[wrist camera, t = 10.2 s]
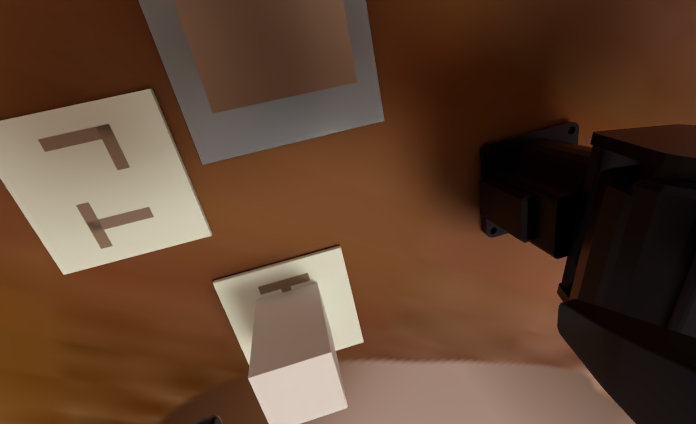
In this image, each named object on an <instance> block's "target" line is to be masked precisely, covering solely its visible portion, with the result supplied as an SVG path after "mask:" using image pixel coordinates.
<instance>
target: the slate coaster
mask: <svg viewBox="0 0 696 424" xmlns="http://www.w3.org/2000/svg"><path fill="white" fill-rule="evenodd" d="M138 1H139V3H140V6H141V8H142V11H143V14H144V16H145V19H146V21H147V24H148V26H149V29H150V31H151V34H152V37H153V39H154V42H155V44H156V47H157V49H158V52H159V54H160V57H161V60H162V62H163V65H164V67H165V70H166V72H167V75H168V78H169V80H170V83H171V85H172V88H173V90H174V93H175V95H176V98H177V101H178V103H179V106H180V108H181V111H182V113H183V116H184V118H185V121H186V124H187V126H188V129H189V131H190V134H191V136H192V139H193V141H194V144H195V147H196V149H197V152H198V154H199V157H200V159H201V162H202V165H204V164H208V163H212V162H216V161H220V160H224V159H228V158H233V157H237V156H241V155H245V154H249V153H253V152H257V151H262V150H266V149H270V148H274V147H278V146H282V145H286V144H291V143H295V142H299V141H303V140H307V139H311V138H315V137H320V136H324V135H328V134H332V133H336V132H340V131H344V130H349V129H353V128H357V127H361V126H365V125H369V124H373V123H378V122H382V121H384V115H383V108H382V102H381V95H380V89H379V82H378V76H377V69H376V63H375V56H374V50H373V43H372V37H371V30H370V24H369V17H368V11H367V4H366V0H343V2H344V8H345V14H346V19H347V25H348V31H349V37H350V43H351V49H352V55H353V60H354V66H355V72H356V78H357V82H356V83H351V84H347V85H342V86H338V87H333V88H328V89H324V90H319V91H315V92H310V93H306V94H301V95H296V96H292V97H287V98H283V99H278V100H273V101H269V102H264V103H260V104H255V105H250V106H246V107H241V108H237V109H232V110H227V111H223V112H218V113H214V114H213V113H212V110H211V107H210V104H209V101H208V99H207V96H206V93H205V90H204V87H203V84H202V81H201V78H200V76H199V73H198V70H197V67H196V64H195V61H194V58H193V55H192V53H191V50H190V47H189V44H188V41H187V38H186V35H185V32H184V29H183V27H182V24H181V21H180V18H179V15H178V12H177V9H176V6H175V4H174V1H173V0H138Z"/></svg>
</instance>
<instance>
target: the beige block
mask: <svg viewBox="0 0 696 424" xmlns="http://www.w3.org/2000/svg"><path fill="white" fill-rule="evenodd" d="M248 379H249V381H250V383H251V386H252V388H253V390H254V392H255V394H256V397H257V399H258V401H259V403H260V405H261V407H262V410H263V412H264V414H265V416H266V418H267V421H268V423H269V424H301V423H304V422H306V421H310V420H313V419H315V418H319V417H321V416H325V415H327V414H331V413H333V412H337V411H339V410H342V409H346V408H348V406H347V401H346V397H345V392H344V388H343V383H342V378H341V374H340V369H339V364H338V360H337V355H336V350H335V346H334V341H333V337H332V332H331V328H330V324H329V321H328V318H327V314H326V311H325V307H324V304H323V300H322V297H321V293H320V290H319V286H318V283H314V284H311V285H307V286H304V287H301V288H297V289H294V290H290V291H287V292H283V293H280V294H276V295H273V296H269V297H266V298H263V299H259V300H256V305H255V315H254V325H253V335H252V345H251V355H250V365H249V375H248Z"/></svg>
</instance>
